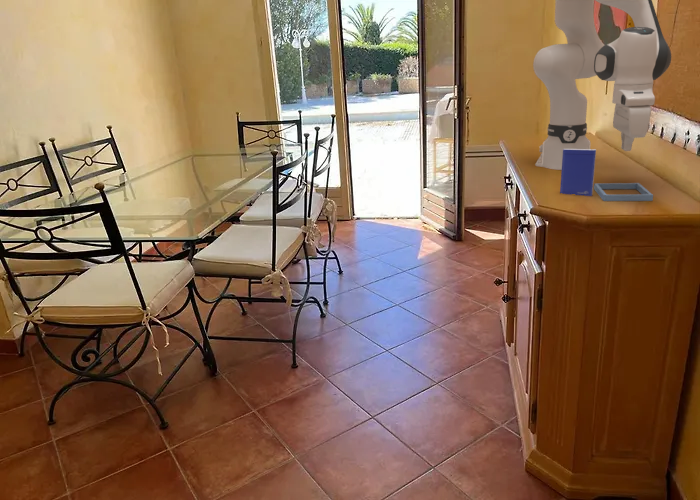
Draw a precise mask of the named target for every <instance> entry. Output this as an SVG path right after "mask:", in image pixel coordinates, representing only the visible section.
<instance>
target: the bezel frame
mask: <svg viewBox="0 0 700 500" xmlns="http://www.w3.org/2000/svg"><path fill="white" fill-rule="evenodd" d="M604 190H637V192H638V193H637V194H632V193H631V194H630V193H629V194H627V193H626V194H607V193H606V192H605V191H604ZM593 191H595V192H596V194H597V195H598V196H599V197H600V199H601V200H602V201H603V202H630V201H631V202H634V201H635V202H639V201H641V202H649V201H650V202H651V201H652V202H653V200H654V199H653V198H654V194H653V193H651V192H650V191H649V190H648V189H647V188H646V187H644V185H642V184H641V183H640V182H627V183H626V182H625V183H624V182H623V183H622V182H615V183H613V182H612V183H609V182H608V183H593ZM639 193H640V194H639Z"/></svg>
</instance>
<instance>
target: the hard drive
mask: <svg viewBox="0 0 700 500" xmlns="http://www.w3.org/2000/svg"><path fill="white" fill-rule="evenodd" d="M596 154H597V149H596V148H594V149H591V148H590V149H563V157H562V170H561V172H560V173H561V175H560V176H561V177H560V189H559V194H561V193H562V194H564V195H572V194H575V195H574V196H583V195H584V196H585V197H586V196H587V197H592V196H593V191H594V179H595V168H596V157H597V156H596ZM562 194H561V195H562Z"/></svg>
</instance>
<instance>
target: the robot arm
mask: <svg viewBox="0 0 700 500" xmlns="http://www.w3.org/2000/svg"><path fill="white" fill-rule="evenodd" d="M595 2H597V3H599V4H601V5H604V6H609V7H613V8H615V9H618V10H621V11H623V12H625V13H626V14H628V15H629V16H630V17H631V19H632V21H633V25H634V26H633V27H632V26H631V27H627V28H625V29H622V30H621V32H620V34H619V37H618V38H616V39H615V40H613V41H612V42H610V43H607V44H604V43H603V41H602V40H601V38H600V36H599V34H598V31H597V29H596V25H595V19H594V18H595V15H594V14H595V10H594V9H595ZM554 5H555V8H554V23H555V26H556V27H557V28H558V29H559V30H561V31H562V32H563V34H564V35H565V37H566V41H567V43H558V44H557V43H556V44H552V45H549V46H546V47H543V48H541V49H539V50H538V51H537V53H536V54H535V56H534V58H533V64H532V67H533V71H534V74H535V76H536V77H537V78H538V79H539V80H541V82H542V83H543V84H544V86H545V87H546V90H547V93H548V96H549V108H550V109H549V123H548V126H547V137H546V138H545V140H544V141H543V142H542V144H540V146H539V153H540V156H539V157H538V159H537V161H536V162H535V164H534V165H535V166H536V167H541V168H546V169H551V170H557V171H558V170H560V171H562V157H563V149H591V140H590V139H589V138H588V137H587V136H586V135H587V132H588V124H587V110H588V99H587V97H586V95H585V94H584V93H581V92H580V91H579V90H578V87H577V83H576V80H580V79H590V78H592V77H596V76H597V77H598V78H599V79H600V80H601V81H607V82H614V83H613V90H612V91H613V92H612V101H611V102H612V104H615V105H614V112H613V118H612V119H613V120H612V126H613V127H612V128H613V129H616V130H617V131H619V132H620V133H621V134H620V137H621V138H620V139H621V147H620V148H621V150H623V151H624V152H631V151H632V149H633V147H632V146H633V143H634V140H635V138H636V139H637V138H638V139H639V138H645V137H646V136H647V133H648V130H649V125H650V120H651V114H652V106H653V105H655V101H656V96H655V95H654V92H653V91H654V90H653V88H654V87H653V86H654V81H655V80H657V79H659V78H660V77H661V76H663V74H664V73H666V72H667V70H668V69H669V67H670V65H671V63H672V51H671V49H670V46H669V45H668V42H667V41H666V39H665V37H664V35H663V31H662V29H661V25H660V23H659V18H658V15H657V12H656V10H655V6H654V3H653V0H555V3H554Z"/></svg>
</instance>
